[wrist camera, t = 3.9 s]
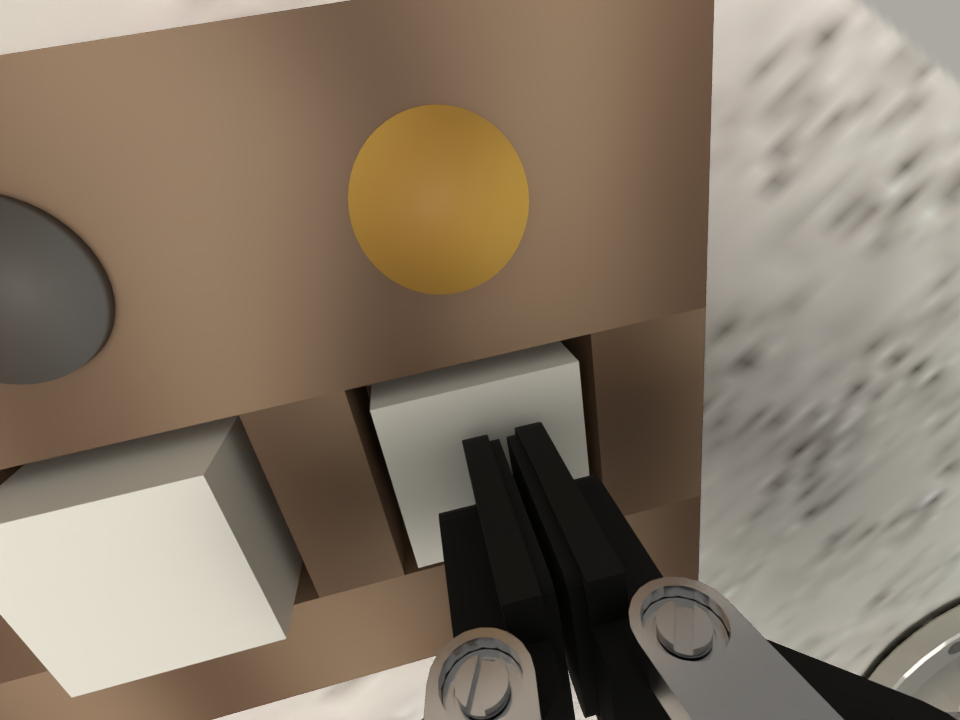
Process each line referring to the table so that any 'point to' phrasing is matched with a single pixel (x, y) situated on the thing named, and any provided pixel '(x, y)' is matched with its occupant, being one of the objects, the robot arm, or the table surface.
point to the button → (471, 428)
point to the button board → (353, 278)
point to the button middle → (145, 556)
